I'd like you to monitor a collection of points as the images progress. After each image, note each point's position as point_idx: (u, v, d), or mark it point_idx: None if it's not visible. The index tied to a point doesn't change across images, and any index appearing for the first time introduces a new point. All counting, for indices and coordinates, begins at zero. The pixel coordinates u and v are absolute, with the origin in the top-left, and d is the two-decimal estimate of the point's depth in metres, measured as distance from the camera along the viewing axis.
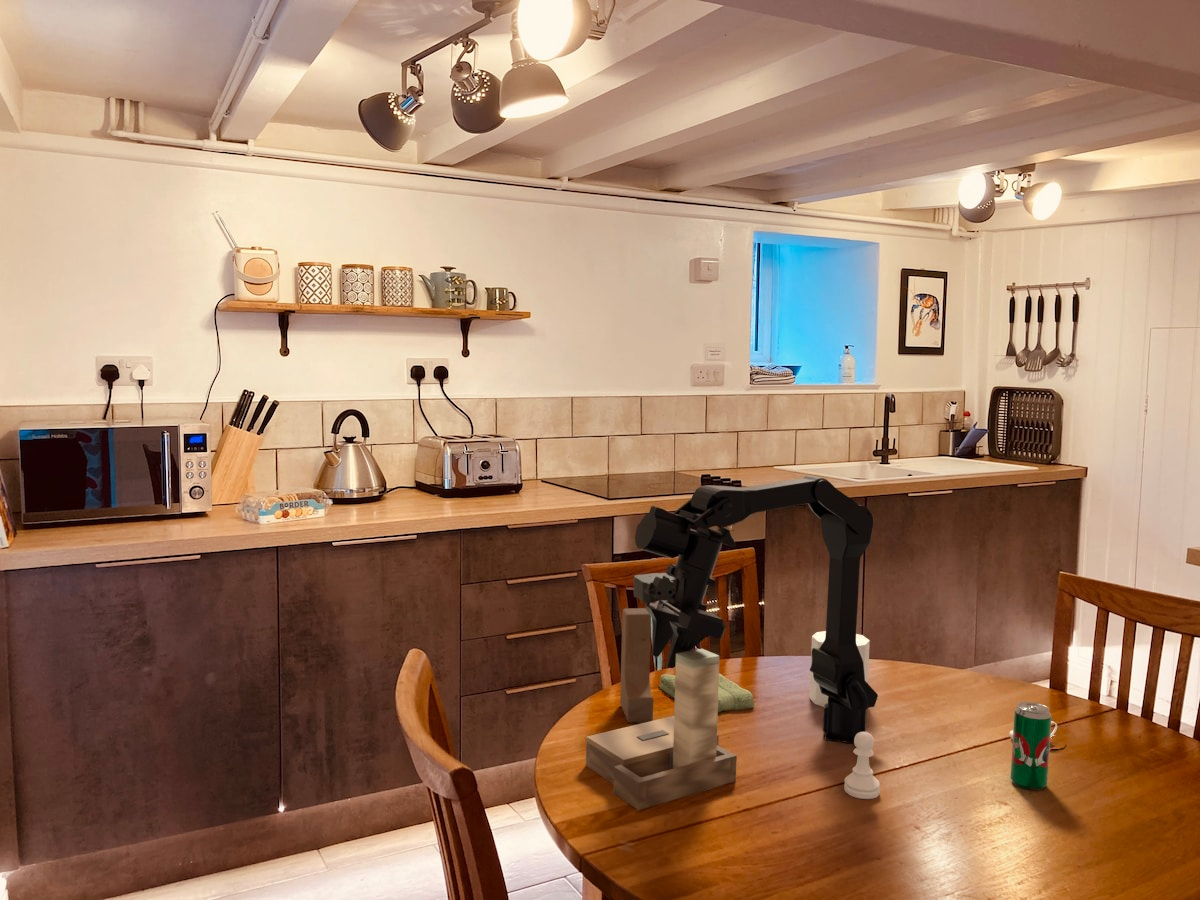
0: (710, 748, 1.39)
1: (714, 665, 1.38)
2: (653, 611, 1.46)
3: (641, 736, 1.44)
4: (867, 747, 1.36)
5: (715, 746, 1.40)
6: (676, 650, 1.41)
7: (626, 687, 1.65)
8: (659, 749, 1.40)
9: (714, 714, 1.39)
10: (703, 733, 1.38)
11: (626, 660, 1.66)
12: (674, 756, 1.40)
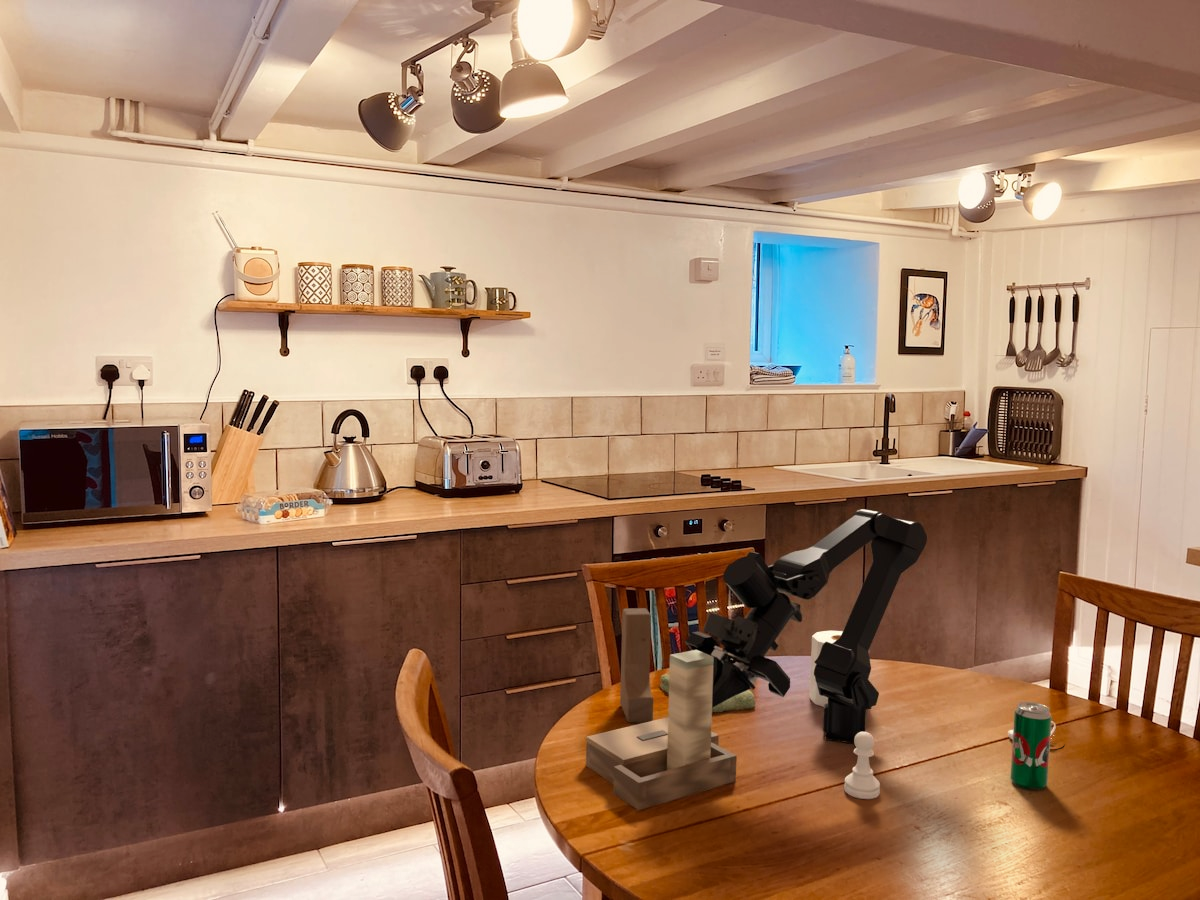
0: (704, 750, 1.38)
1: (708, 667, 1.37)
2: (717, 661, 1.42)
3: (641, 736, 1.44)
4: (867, 747, 1.36)
5: (710, 748, 1.39)
6: (719, 692, 1.40)
7: (626, 687, 1.65)
8: (659, 749, 1.40)
9: (708, 715, 1.38)
10: (697, 735, 1.37)
11: (626, 660, 1.66)
12: (668, 758, 1.39)
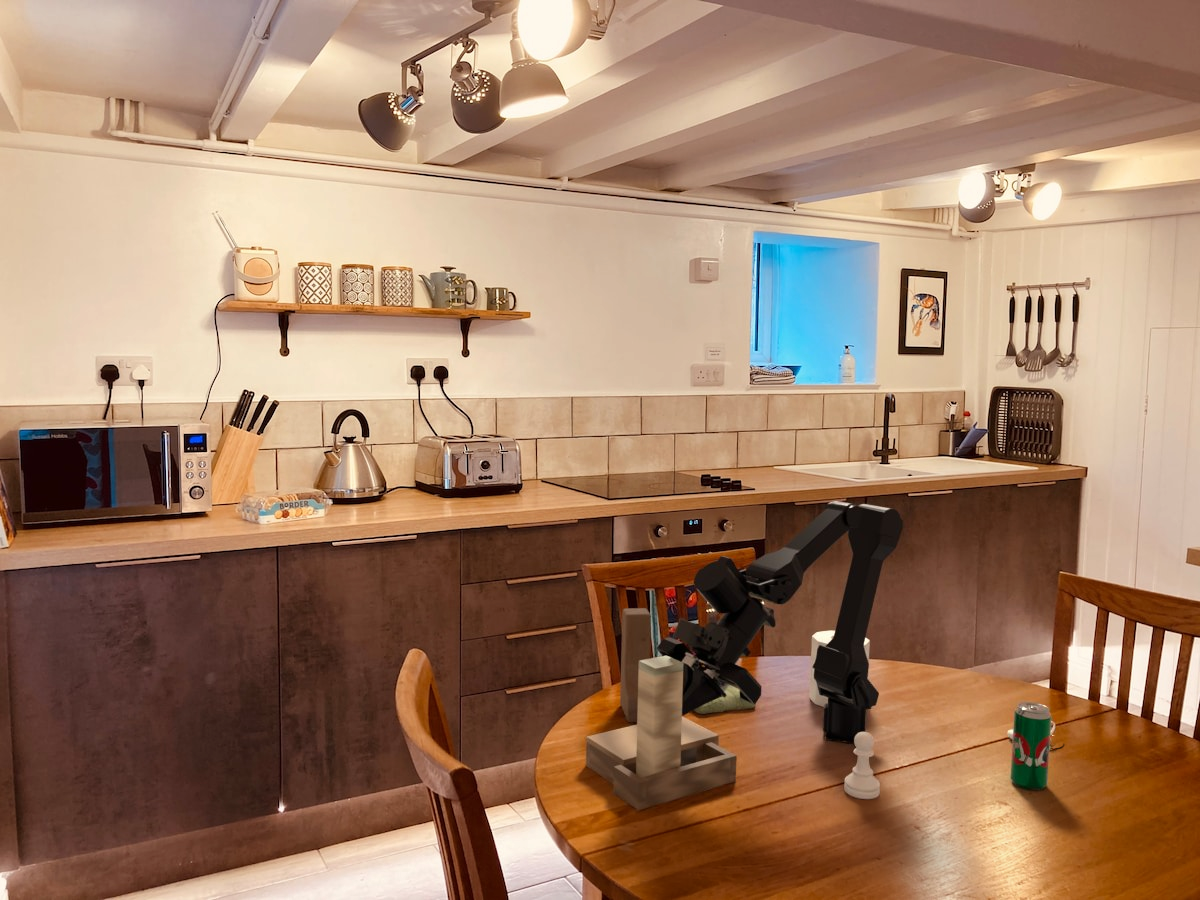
0: (674, 758, 1.35)
1: (678, 673, 1.34)
2: (688, 668, 1.39)
3: None
4: (867, 747, 1.36)
5: (679, 756, 1.36)
6: (689, 700, 1.37)
7: (626, 687, 1.65)
8: None
9: (678, 723, 1.35)
10: (667, 743, 1.34)
11: (626, 660, 1.66)
12: (637, 766, 1.36)
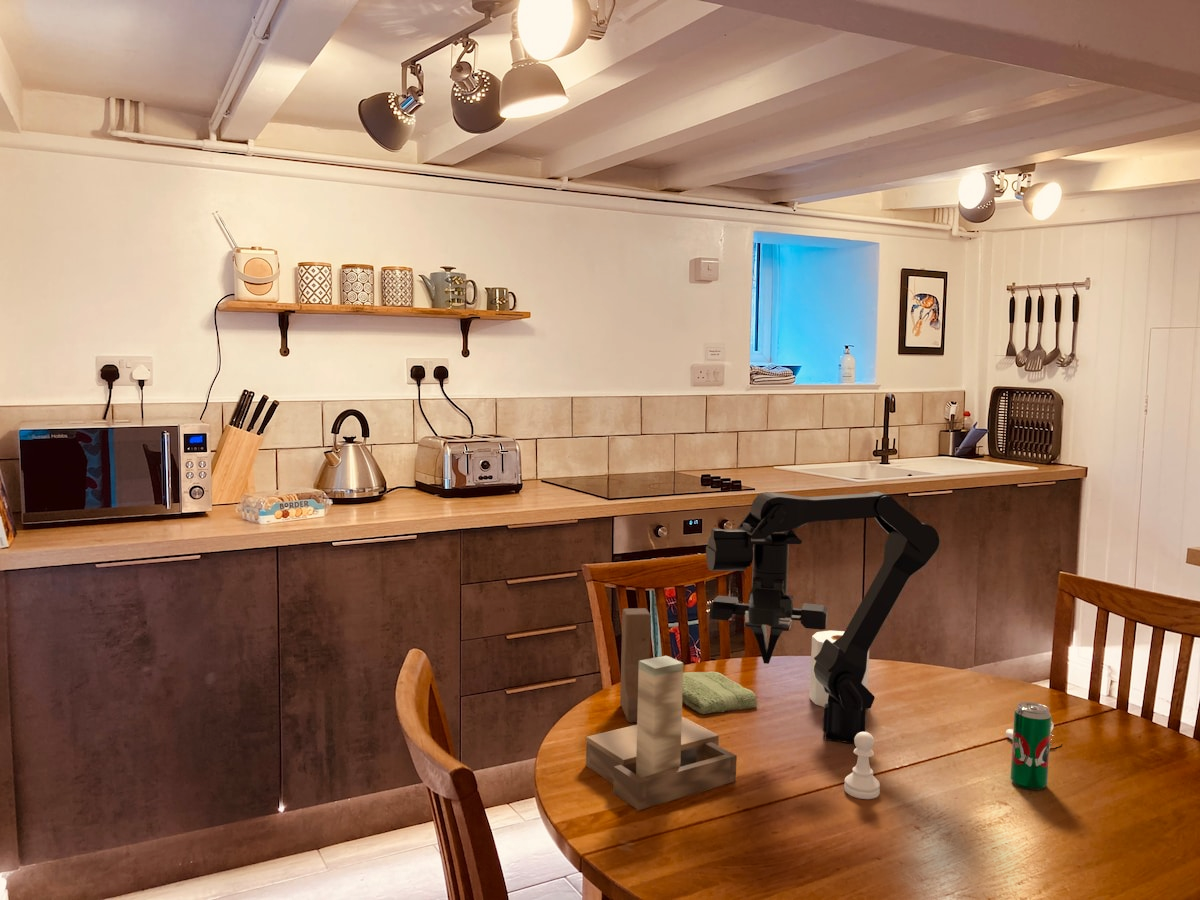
0: (674, 758, 1.35)
1: (678, 673, 1.34)
2: (761, 627, 1.53)
3: None
4: (867, 747, 1.36)
5: (679, 756, 1.36)
6: (774, 647, 1.54)
7: (626, 687, 1.65)
8: None
9: (678, 723, 1.35)
10: (666, 743, 1.34)
11: (626, 660, 1.66)
12: (637, 766, 1.36)
